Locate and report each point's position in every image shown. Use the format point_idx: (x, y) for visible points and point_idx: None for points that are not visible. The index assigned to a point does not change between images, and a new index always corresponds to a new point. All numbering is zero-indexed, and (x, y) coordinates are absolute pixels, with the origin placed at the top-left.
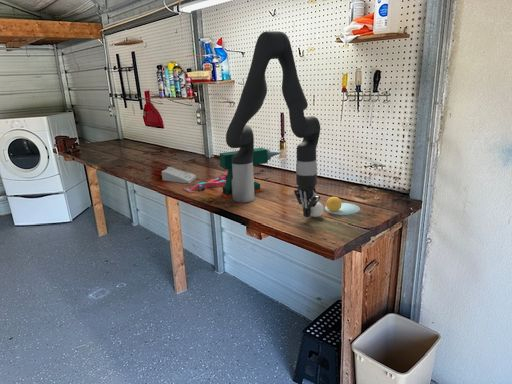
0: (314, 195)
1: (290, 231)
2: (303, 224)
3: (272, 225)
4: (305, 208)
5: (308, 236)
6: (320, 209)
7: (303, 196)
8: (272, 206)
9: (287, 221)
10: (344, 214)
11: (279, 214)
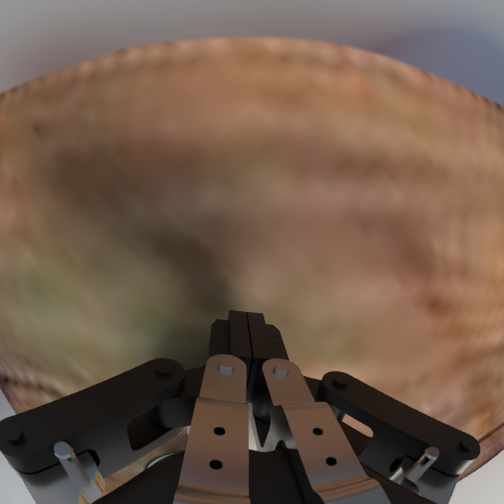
0: (37, 491)
1: (178, 69)
2: (199, 235)
3: (359, 73)
4: (236, 355)
5: (45, 114)
6: (187, 428)
7: (296, 469)
8: (497, 309)
9: (337, 196)
10: (157, 459)
11: (443, 258)
